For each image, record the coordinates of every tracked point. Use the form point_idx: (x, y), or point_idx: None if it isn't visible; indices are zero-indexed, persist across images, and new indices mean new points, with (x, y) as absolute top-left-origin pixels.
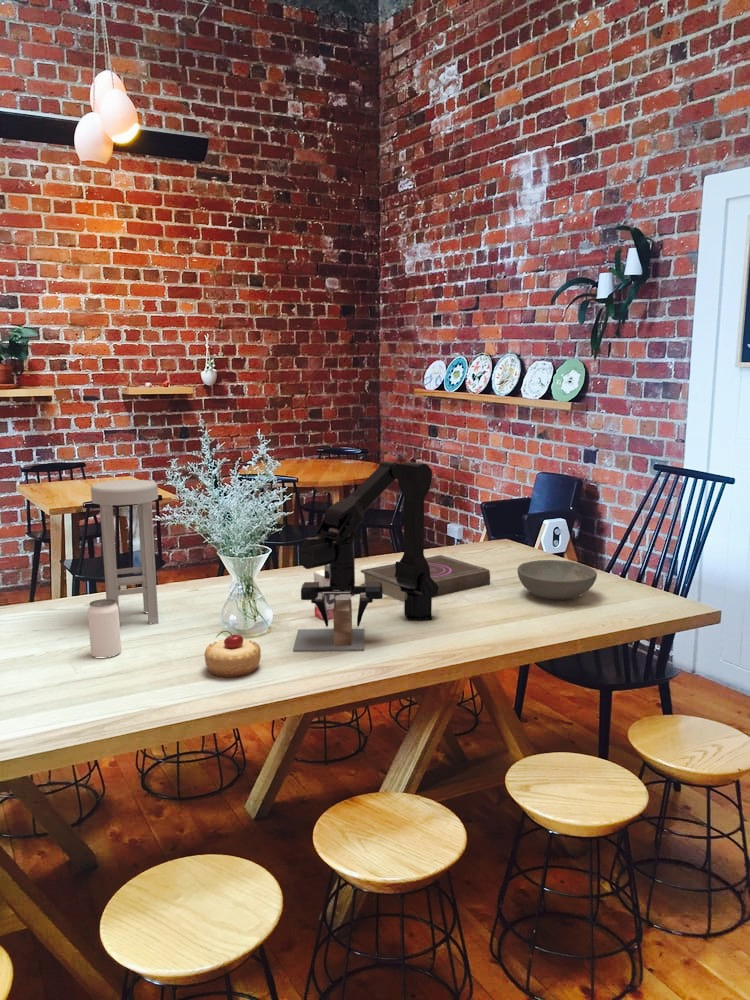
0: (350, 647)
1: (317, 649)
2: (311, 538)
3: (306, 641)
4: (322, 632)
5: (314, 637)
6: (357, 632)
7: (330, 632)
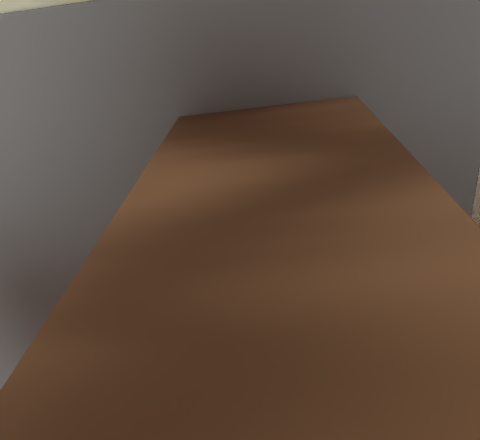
0: None
1: None
2: None
3: (13, 332)
4: (49, 129)
5: (34, 259)
6: (416, 99)
7: (129, 125)
